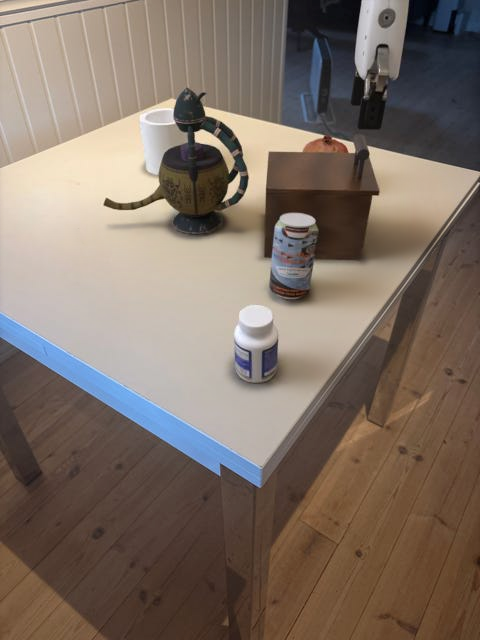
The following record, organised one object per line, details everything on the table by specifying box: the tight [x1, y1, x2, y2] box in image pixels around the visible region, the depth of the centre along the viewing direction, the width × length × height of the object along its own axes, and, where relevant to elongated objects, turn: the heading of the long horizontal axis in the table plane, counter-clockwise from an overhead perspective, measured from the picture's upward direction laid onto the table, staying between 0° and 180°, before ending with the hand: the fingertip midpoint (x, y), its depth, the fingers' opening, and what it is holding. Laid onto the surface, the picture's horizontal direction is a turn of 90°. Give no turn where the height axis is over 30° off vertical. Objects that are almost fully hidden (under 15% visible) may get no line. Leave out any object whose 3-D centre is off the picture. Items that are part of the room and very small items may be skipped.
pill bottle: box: [233, 304, 279, 384], centre depth 59 cm, size 5×5×9 cm
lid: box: [265, 133, 381, 197], centre depth 76 cm, size 17×14×5 cm
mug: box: [138, 107, 188, 176], centre depth 106 cm, size 14×10×11 cm
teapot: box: [103, 87, 250, 237], centre depth 81 cm, size 12×25×23 cm, turn 95°
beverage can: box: [268, 213, 318, 300], centre depth 70 cm, size 6×7×12 cm
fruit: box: [302, 133, 350, 153], centre depth 97 cm, size 11×10×10 cm
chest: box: [263, 192, 373, 261], centre depth 81 cm, size 16×14×11 cm
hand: (364, 116), depth 71 cm, fingers open, 9 cm apart
